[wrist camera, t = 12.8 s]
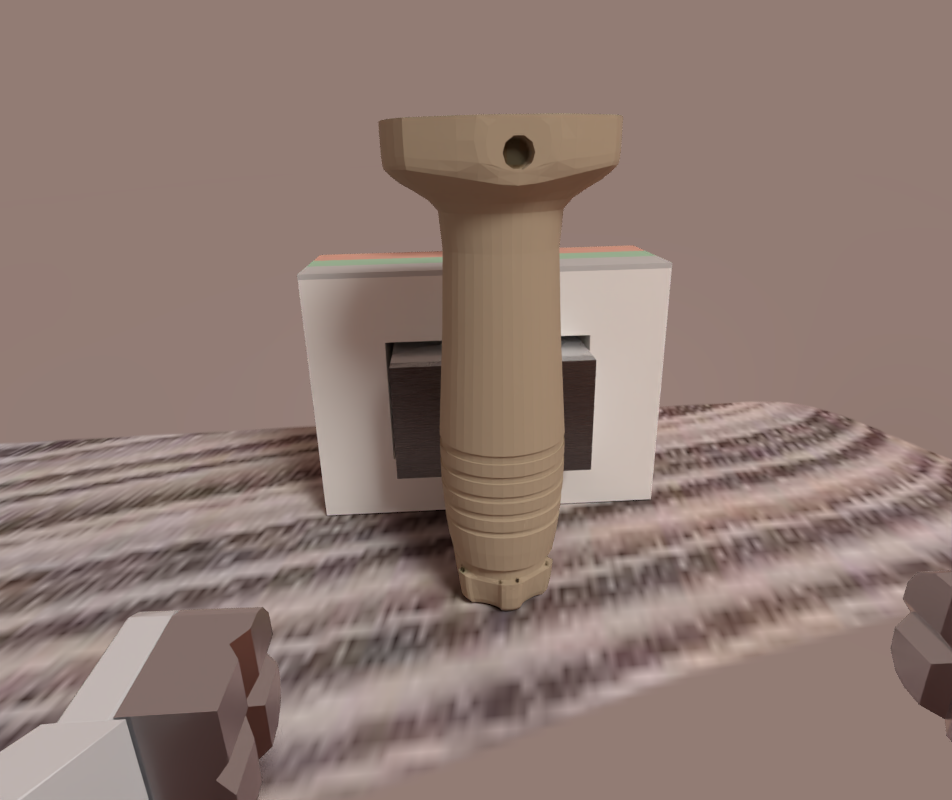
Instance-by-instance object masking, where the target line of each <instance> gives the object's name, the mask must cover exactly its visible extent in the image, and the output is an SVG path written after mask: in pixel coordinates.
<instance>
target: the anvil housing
mask: <svg viewBox="0 0 952 800" xmlns="http://www.w3.org/2000/svg"><path fill="white" fill-rule="evenodd" d="M559 255H560V313H561V336H578V338H579V339H580V340H581V341H582V343H583V344H584V345H585V346H586V348H587V349H588V350H589V351H590V353H591V354H592V355H593V356H594V358H595V359H596V380H595V400H594V420H593V440H592V460H591V470H574V471H563V484H562V490H561V502H560V504H564V503H584V502H604V501H624V500H644V499H651V491H652V480H653V469H654V458H655V447H656V436H657V425H658V414H659V402H660V390H661V380H662V369H663V358H664V347H665V336H666V325H667V313H668V303H669V292H670V281H671V269H672V263H671V262H669V261H667V260H665V259H662V258H660V257H658V256H655V255H653V254H651V253H649V252H647V251H644V250H642V249H640V248H637V247H635V246H607V247H606V246H605V247H604V246H603V247H570V248H559ZM442 263H443V251H440V252H439V251H437V252H405V253H372V254H339V255H320V256H319V257H318V258H316V259H315V260H314V261H313V262H311V263H310V264H309V265H308V266H307V267H306V268H305V269H303V270H302V271H301V272H300V273H299V274H297V277H298V285H299V293H300V301H301V310H302V318H303V325H304V333H305V342H306V349H307V357H308V366H309V374H310V383H311V390H312V399H313V407H314V414H315V423H316V431H317V439H318V448H319V456H320V464H321V472H322V480H323V488H324V496H325V504H326V512H327V515H346V514H366V513H386V512H406V511H425V510H445V509H446V508H445V502H444V492H443V486H442V477H428V478H407V479H397V466H396V453H395V440H394V426H393V413H392V400H391V386H390V373H389V367H390V362H391V357H392V353H393V348H394V344H395V342H415V341H442Z"/></svg>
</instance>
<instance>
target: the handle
mask: <svg viewBox="0 0 952 800" xmlns="http://www.w3.org/2000/svg"><path fill="white" fill-rule="evenodd" d="M622 123H623V116H621V115H607V114H606V115H605V114H488V115H455V116H429V117H405V118H394V119H386V120H381V121H379V137H380V148H381V159H382V165H383V169H384V170H385V171H386V172H387V173H388V174H389V175H390V176H391V177H392V178H393V179H395V180H396V181H397V182H399V183H400V184H402V185H403V186H405V187H407V188H409V189H411V190H413V191H414V192H416V193H417V194H419V195H421V196H422V197H424V198H425V199H427V200H428V201H430V203H431V204H433V206H434V207H435V208H436V209H437V210H438V214H439V223H440V231H441V239H442V247H443V263H442V358H441V396H440V436H441V437H440V455H441V474H442V486H443V492H444V502H445V508H446V516H447V521H448V527H449V531H450V535H451V539H452V543H453V547H454V553H455V560H456V566H457V570H458V574H459V580H460V585H461V590H462V593H463V595H464V596H465V597H466V598H468V599H469V600H470V601H471V602H483V603H488V604H492V605H495V606H497V607H499V608H500V609H501V610H505V611H509V610H515V609H518V608H520V607H521V605H522V603H523V602H525V601H526V600H527V599H529V598H531V597H533V596H536V595H539V594H543V593H544V592H545V591H546V589H547V587H548V583H549V579H550V575H551V569H552V561H553V559H550V558H548V556H547V555H548V554H549V552H550V551H551V549H552V545H553V541H554V536H555V532H556V528H557V522H558V516H559V508H560V502H561V490H562V484H563V471H564V442H565V441H564V433H565V428H564V402H563V376H562V350H561V313H560V255H559V245H560V236H561V227H562V218H563V209H564V207H565V206H566V205H567V204H568V203H569V202H570V200H571V199H572V198H573V197H575V196H576V195H578V194H579V193H580V192H582V191H583V190H585V189H586V188H588V187H590V186H591V185H593V184H594V183H596V182H598V181H600V180H601V179H603V178H604V177H605V176H606V175H607V174H609V173H610V172H611V171H612V170H613V169H614V168H615V167H616V166H617V165H618V163H619V159H620V153H621V140H622Z"/></svg>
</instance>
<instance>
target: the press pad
mask: <svg viewBox="0 0 952 800" xmlns="http://www.w3.org/2000/svg"><path fill="white" fill-rule="evenodd" d="M561 350H562V376H563V402H564V428H565V433H564V441H565V442H564V471H574V470H591V460H592V440H593V420H594V400H595V380H596V359H595V358H594V356H593V355H592V354H591V353H590V351H589V350H588V349H587V348H586V346H585V345H584V344H583V343H582V341H581V340H580V339H579V338H578V336H561ZM441 358H442V341H415V342H395V344H394V348H393V353H392V357H391V362H390V367H389V373H390V386H391V400H392V413H393V426H394V440H395V453H396V466H397V479H407V478H428V477H442V474H441V455H440V437H441V436H440V396H441Z"/></svg>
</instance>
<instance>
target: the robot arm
mask: <svg viewBox="0 0 952 800" xmlns="http://www.w3.org/2000/svg"><path fill="white" fill-rule="evenodd" d="M903 600H904V602H905V603H906V605H907V607H908V609H909V610H910V613H909V614H908V615H907V616H906V617H905V618H904V619H903V620H902V621H901V622H900V623H899V624H898V625H897V626H896V627H895V631H894V635H893V639H892V644H891V653H892V658H893V662H894V667H895V671H896V673H897V675H898V677H899V678H900V680H901V682H902V684H903V686H904V687H905V689H906V690H907V691H908V692H909V693H910V695H911V696H912V697H913V698H914V699H915V700H916V702H918V704H920V705H921V706H923V707H924V708H926V709H928V710H930V711H931V712H933V713H935V714H937V715H938V716H940V717H942V718H944V719H945V726H946V736H947V737H948V738H949V739H950V740H951V741H952V570H945V571H929V572H917V573H916V574H915V575H914V576H913V577H912V578H911V579H910V580H909V581H908V583H907V587H906V590H905V593H904V597H903ZM272 636H273V632H272V627H271V622H270V617H269V613H268V612H267V611H266V610H265V609H264V608H263V607H257V608H225V609H194V610H180V611H152V612H138V613H136V614H134V615H133V616H131V617H129V618H128V619H127V620H126V621H125V623H124V624H123V626H122V627H121V629H120V630H119V632H118V633H117V635H116V636H115V638H114V639H113V641H112V642H111V643H110V645H109V646H108V648H107V649H106V651H105V652H104V654H103V655H102V657H101V658H100V660H99V661H98V663H97V664H96V666H95V667H94V668H93V670H92V671H91V673H90V674H89V676H88V677H87V679H86V680H85V682H84V683H83V685H82V686H81V688H80V689H79V691H78V692H77V693H76V695H75V696H74V698H73V699H72V701H71V702H70V704H69V705H68V707H67V708H66V710H65V711H64V713H63V714H62V716H61V717H60V719H59V720H58V721H57V723H55V724H41V725H40V726H38V727H37V728H35V729H34V730H32V731H31V732H29V733H28V734H26V735H25V736H23V737H22V738H20V739H19V740H17V741H16V742H15V743H13V744H12V745H10V746H9V747H7V748H6V749H4V750H3V751H1V752H0V800H257V799H258V796H259V792H260V789H261V785H262V776H261V771H260V766H259V759H260V758H261V757H262V756H263V755H264V754H265V753H266V752H267V751H268V750H269V749H270V748H271V747H272V746H273V742H274V738H275V734H276V730H277V727H278V721H279V712H280V703H281V682H280V674H279V667H278V663H277V662H276V661H275V660H274V659H273V658H272V657H270V656H269V655H268V654H267V651H268V648H269V645H270V642H271V639H272Z"/></svg>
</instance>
